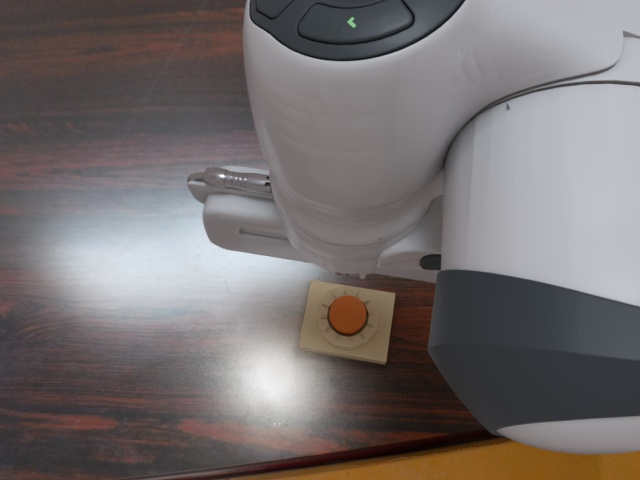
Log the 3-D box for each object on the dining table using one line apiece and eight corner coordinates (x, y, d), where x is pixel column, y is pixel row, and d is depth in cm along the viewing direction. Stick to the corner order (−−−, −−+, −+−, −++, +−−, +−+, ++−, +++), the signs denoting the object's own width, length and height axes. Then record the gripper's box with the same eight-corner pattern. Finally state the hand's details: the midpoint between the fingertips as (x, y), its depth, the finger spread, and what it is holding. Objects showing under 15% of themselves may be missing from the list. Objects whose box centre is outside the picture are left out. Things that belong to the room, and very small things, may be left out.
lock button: (368, 302, 60) (368, 298, 59) (362, 337, 59) (363, 334, 57) (333, 296, 61) (332, 292, 59) (327, 331, 59) (326, 327, 58)
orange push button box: (394, 298, 64) (397, 288, 60) (384, 364, 61) (387, 359, 58) (312, 284, 65) (310, 274, 61) (299, 349, 62) (296, 343, 59)
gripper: (164, 215, 31) (216, 283, 44) (528, 272, 29) (470, 326, 42) (192, 122, 33) (234, 213, 46) (533, 168, 31) (477, 250, 44)
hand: (349, 267), depth 44 cm, fingers closed
